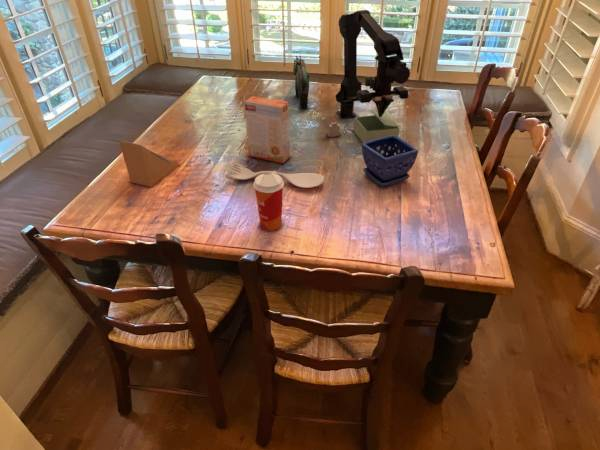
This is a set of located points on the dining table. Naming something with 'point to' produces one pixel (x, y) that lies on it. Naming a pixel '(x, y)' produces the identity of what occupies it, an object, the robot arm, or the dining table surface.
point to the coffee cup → (269, 200)
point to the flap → (385, 119)
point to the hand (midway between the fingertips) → (380, 116)
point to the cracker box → (268, 129)
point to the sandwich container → (144, 164)
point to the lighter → (331, 128)
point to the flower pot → (388, 160)
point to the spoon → (296, 179)
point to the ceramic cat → (301, 82)
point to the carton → (372, 128)
